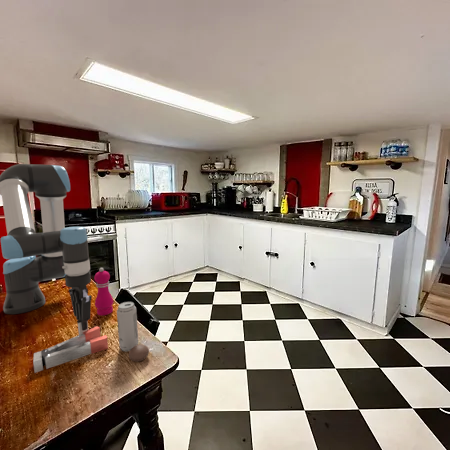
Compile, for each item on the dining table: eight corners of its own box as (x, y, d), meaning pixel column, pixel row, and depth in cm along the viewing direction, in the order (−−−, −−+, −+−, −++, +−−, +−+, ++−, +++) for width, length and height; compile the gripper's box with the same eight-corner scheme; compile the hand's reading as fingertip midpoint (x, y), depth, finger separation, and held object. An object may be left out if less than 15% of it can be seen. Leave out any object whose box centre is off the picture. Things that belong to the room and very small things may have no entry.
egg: (125, 360, 79) (124, 348, 78) (141, 350, 84) (140, 339, 83) (137, 367, 75) (136, 355, 75) (153, 357, 80) (152, 345, 80)
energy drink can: (120, 343, 87) (117, 302, 85) (138, 340, 89) (136, 299, 87) (118, 354, 82) (115, 310, 80) (138, 350, 83) (135, 307, 81)
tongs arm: (49, 361, 78) (48, 350, 78) (47, 359, 80) (45, 348, 79) (100, 337, 91) (99, 327, 90) (98, 335, 92) (97, 326, 92)
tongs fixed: (34, 373, 74) (32, 359, 73) (35, 363, 78) (33, 350, 77) (108, 348, 85) (107, 335, 84) (105, 341, 89) (104, 329, 88)
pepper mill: (107, 316, 106) (103, 270, 103) (92, 315, 107) (87, 270, 105) (117, 308, 113) (114, 265, 110) (103, 307, 114) (99, 264, 112)
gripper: (58, 271, 87) (65, 335, 90) (73, 280, 79) (80, 349, 82) (81, 266, 92) (87, 326, 96) (97, 273, 84) (103, 338, 88)
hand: (84, 337), depth 89 cm, fingers closed
